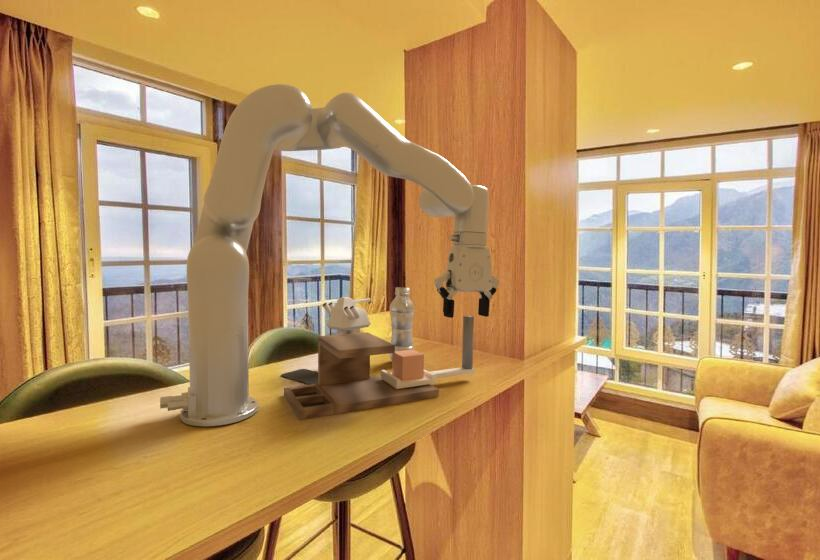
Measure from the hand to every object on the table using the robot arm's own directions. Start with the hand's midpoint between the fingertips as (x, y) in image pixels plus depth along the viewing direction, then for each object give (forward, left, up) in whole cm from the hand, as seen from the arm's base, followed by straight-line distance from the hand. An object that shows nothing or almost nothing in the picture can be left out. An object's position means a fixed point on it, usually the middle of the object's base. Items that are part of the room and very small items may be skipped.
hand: (466, 316), depth 96 cm
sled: (-9, 0, -13) cm, 16 cm away
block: (-15, 0, -12) cm, 19 cm away
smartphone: (-31, +16, -16) cm, 38 cm away
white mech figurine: (-20, +21, -15) cm, 33 cm away
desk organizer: (-25, 0, -15) cm, 29 cm away
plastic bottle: (-6, +20, -15) cm, 26 cm away
